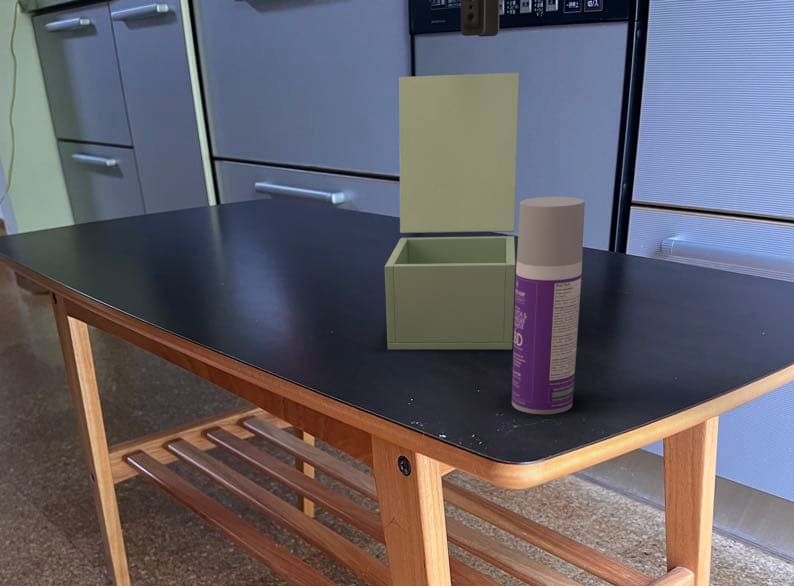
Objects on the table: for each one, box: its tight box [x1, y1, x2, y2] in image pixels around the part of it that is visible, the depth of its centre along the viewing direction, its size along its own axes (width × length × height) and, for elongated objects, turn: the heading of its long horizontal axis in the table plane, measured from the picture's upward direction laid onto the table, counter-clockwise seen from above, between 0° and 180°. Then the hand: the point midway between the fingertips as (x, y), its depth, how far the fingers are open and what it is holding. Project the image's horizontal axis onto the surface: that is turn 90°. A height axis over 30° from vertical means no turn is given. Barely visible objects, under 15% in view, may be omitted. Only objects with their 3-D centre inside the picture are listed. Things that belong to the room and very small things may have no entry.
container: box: [511, 196, 586, 415], centre depth 64 cm, size 5×5×15 cm
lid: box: [398, 72, 520, 234], centre depth 87 cm, size 14×12×1 cm
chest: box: [384, 235, 516, 350], centre depth 85 cm, size 14×12×8 cm
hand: (480, 35), depth 86 cm, fingers open, 6 cm apart
